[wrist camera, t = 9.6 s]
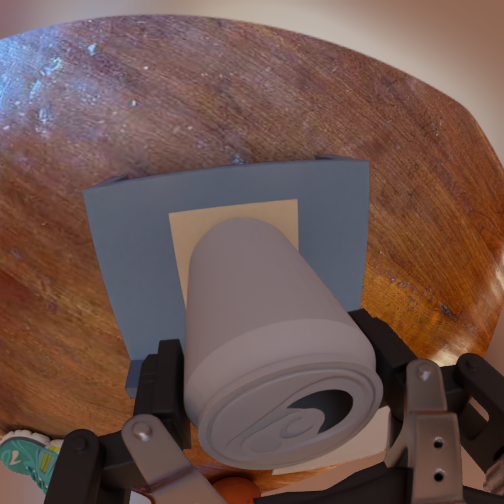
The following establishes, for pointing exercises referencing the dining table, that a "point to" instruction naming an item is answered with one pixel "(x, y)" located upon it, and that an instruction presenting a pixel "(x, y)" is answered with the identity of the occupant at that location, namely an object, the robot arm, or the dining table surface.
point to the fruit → (237, 490)
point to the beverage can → (270, 353)
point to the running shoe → (30, 455)
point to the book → (351, 446)
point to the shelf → (210, 215)
